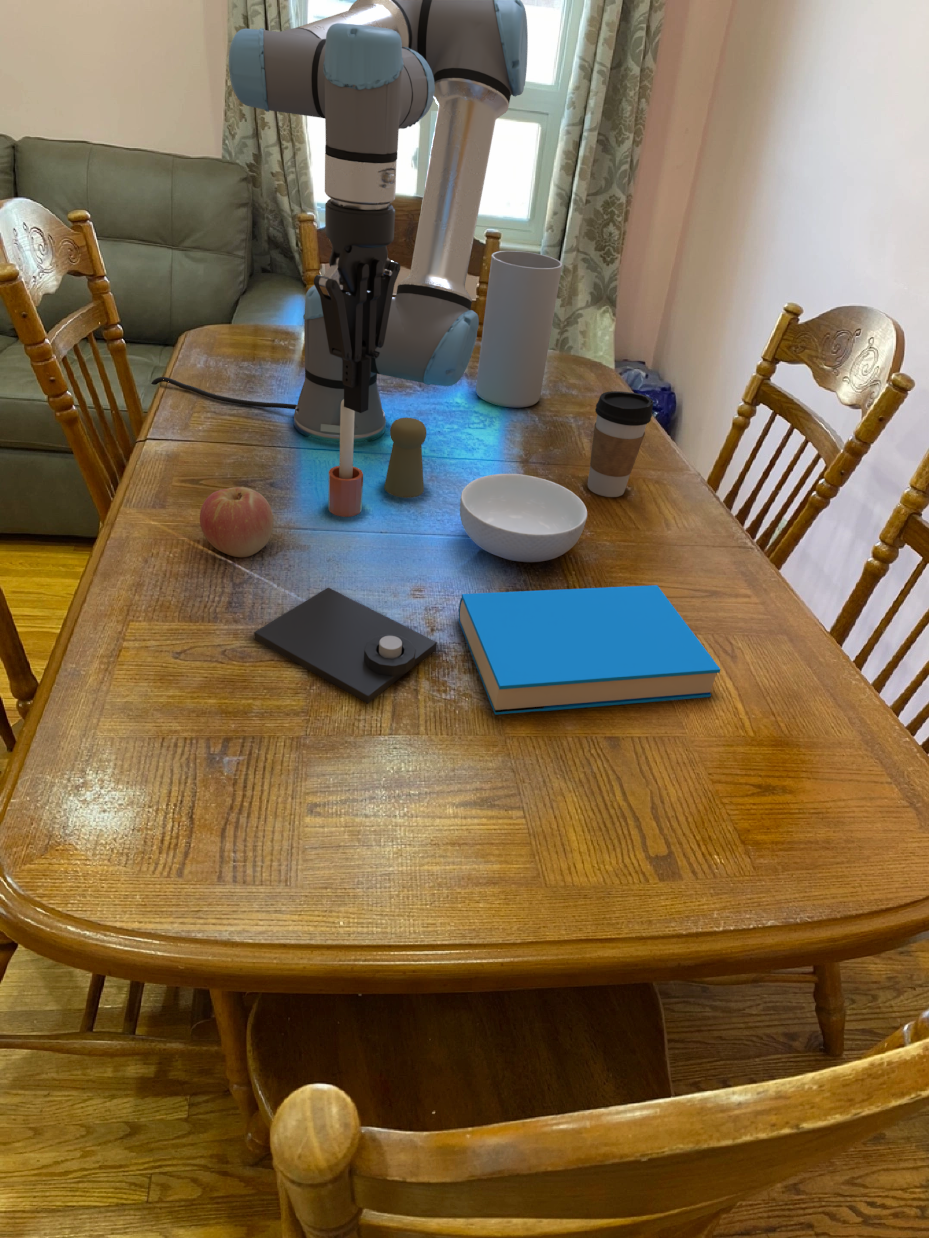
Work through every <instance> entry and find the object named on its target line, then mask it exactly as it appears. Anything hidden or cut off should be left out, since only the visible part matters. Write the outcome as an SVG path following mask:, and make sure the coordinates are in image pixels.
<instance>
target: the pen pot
mask: <svg viewBox="0 0 929 1238" xmlns="http://www.w3.org/2000/svg"><path fill="white" fill-rule="evenodd" d="M327 474H328V477H327V479H328V480H327V481H328V482H327V483H328V485H327V509H328V511H329V513H331V514H332V515H334V516H336V517H340V518H341V517H342V518H343V517H344V518H349V517H355V516H357V515H360V514H361V512H362V510H363V492H364V491H363V490H364V472H363V470H362V469H360V468H359V467H357V466H353V477H352V479H342V478H339V465H336V466H333V467H331V468H330V469H329V470H328V473H327Z"/></svg>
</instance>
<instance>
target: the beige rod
mask: <svg viewBox="0 0 929 1238" xmlns="http://www.w3.org/2000/svg"><path fill="white" fill-rule="evenodd" d="M354 414H355V411H354V410H351V409H348V408H346V407H344V399H343V400H342V402H341V416H340V443H339V465H338V466H339V478H342V479H352V477H353V467H354Z"/></svg>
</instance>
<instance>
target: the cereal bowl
mask: <svg viewBox="0 0 929 1238" xmlns="http://www.w3.org/2000/svg"><path fill="white" fill-rule="evenodd" d="M459 517H460V522H461V525H462V527H463V530H464V531H465V532H464V533H466V534H467V537H469V538H470V540H471V541H472V542H473V543H474V544H476V546H478V547H479V548H481V549H482V550H484V551H485V552H488V553H489V554H491V555H494V556H496V557H499V558H502V559H505V560H509V561H512V562H519V563H520V562H521V563H522V562H523V563H539V562H545V561H549V560H553V559H554V560H555V559H556V558H558V557H561V556H562V555H565V554H566V553H568V552H569V551H570V550H571V549H572V548H573V547H575V545H576V544H577V543H578V541H579V540H580V537H581V535H582V533H583V531H584V528H585V526H586V522H587V519H588V511H587V507H586V505H585V503H584V502H583V500H582V499H581V498H580V497H579V496H578V495H577V494H575V492H573V491H571V490H570V489H568V488H567V487H565V486H563V485H561V484H558V483H557V482H554V481H551V480H548V479H545V478H541V477H537V476H532V475H526V474H519V473H496V474H488V475H485V476H481V477H478V478H476V479H474V480H472V481H470V482H469V483H468V484H467V485H465V486H464V488H463V489H462V491H461V495H460V498H459Z"/></svg>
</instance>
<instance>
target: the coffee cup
mask: <svg viewBox="0 0 929 1238" xmlns="http://www.w3.org/2000/svg"><path fill="white" fill-rule="evenodd" d="M653 406H654V401H653V399H652V398H651V397H649V396H647V395H646V394H643V393H638V392H632V391H619V390H616V391H614V390H613V391H612V390H611V391H605V392H603V393H601V394H600V395H599V398H598V400H597V403H596V405H595V411H594V412H595V413H596V420H595V422H594V426H593V434H592V443H591V453H590V461H589V470H588V471H589V472H588V477H587V478H588V479H587V488H588V490H589V491H591V492H592V493H594V494H596V495H598V496H601V497H604V498H605V497H607V498H618V497H621V496H623V495H624V493H625V491H626V488H627V485H628V482H629V480H630V476H631V474H632V471H633V468H634V466H635V464H636V463H635V462H636V460H637V457H638V454H639V451H640V449H641V446H642V443H643V441H644V438H645V435H646V432H645V431H646V427H647V424H649V423H650V422H651V420H652V417H653Z"/></svg>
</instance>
